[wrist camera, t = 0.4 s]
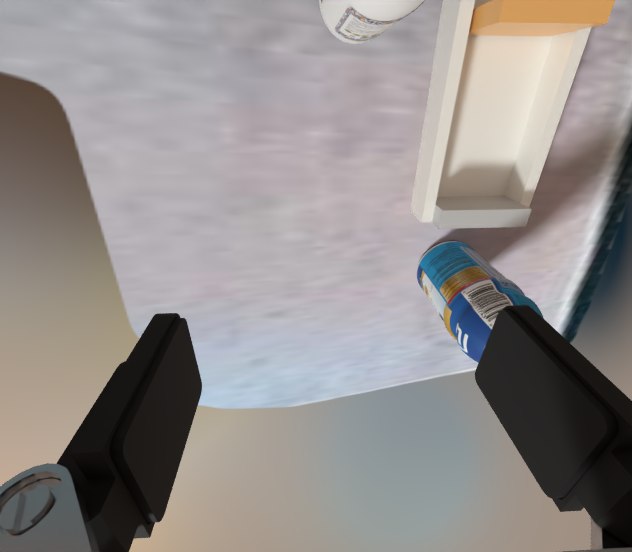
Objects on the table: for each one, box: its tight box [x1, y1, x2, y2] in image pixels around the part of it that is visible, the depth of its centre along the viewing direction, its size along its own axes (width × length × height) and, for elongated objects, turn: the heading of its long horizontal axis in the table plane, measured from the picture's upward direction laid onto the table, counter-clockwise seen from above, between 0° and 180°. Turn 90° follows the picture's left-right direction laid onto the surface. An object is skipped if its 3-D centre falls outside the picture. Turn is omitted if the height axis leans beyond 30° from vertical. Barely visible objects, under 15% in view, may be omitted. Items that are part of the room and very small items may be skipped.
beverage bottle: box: [417, 241, 544, 363], centre depth 35 cm, size 8×8×20 cm
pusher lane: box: [410, 0, 592, 229], centre depth 31 cm, size 24×12×6 cm, turn 0°
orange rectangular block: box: [468, 0, 615, 36], centre depth 26 cm, size 2×9×6 cm, turn 90°
